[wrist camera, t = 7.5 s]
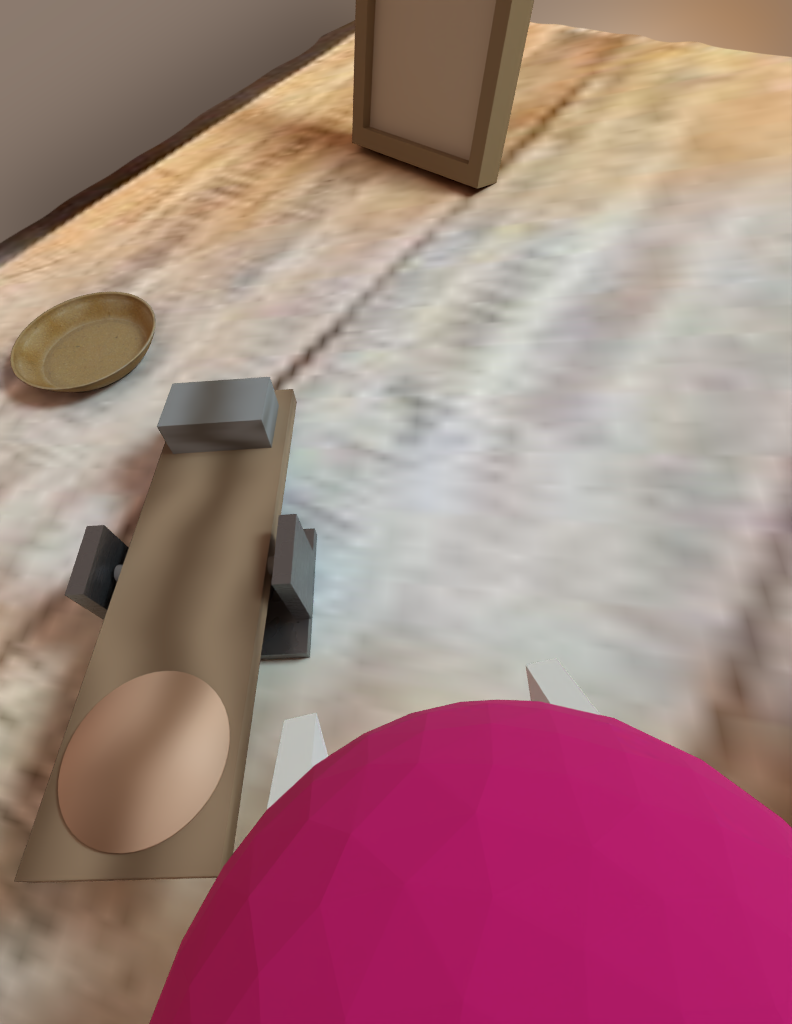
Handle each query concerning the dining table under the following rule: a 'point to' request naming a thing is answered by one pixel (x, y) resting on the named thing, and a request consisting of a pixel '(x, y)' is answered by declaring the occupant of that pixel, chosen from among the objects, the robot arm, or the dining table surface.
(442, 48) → the photo frame
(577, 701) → the robot arm
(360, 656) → the dining table surface
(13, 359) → the plant saucer
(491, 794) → the pepper mill
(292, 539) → the pivot stand
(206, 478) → the balance plank
